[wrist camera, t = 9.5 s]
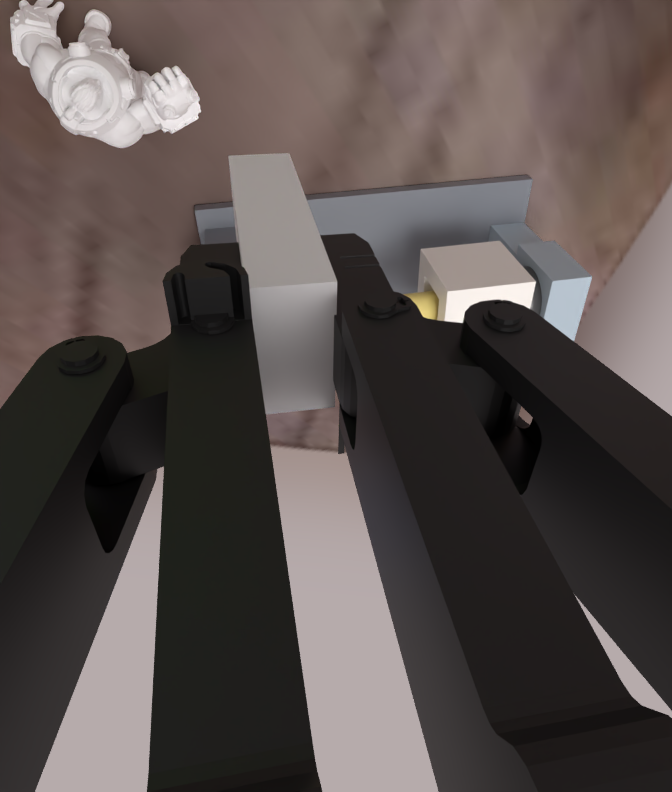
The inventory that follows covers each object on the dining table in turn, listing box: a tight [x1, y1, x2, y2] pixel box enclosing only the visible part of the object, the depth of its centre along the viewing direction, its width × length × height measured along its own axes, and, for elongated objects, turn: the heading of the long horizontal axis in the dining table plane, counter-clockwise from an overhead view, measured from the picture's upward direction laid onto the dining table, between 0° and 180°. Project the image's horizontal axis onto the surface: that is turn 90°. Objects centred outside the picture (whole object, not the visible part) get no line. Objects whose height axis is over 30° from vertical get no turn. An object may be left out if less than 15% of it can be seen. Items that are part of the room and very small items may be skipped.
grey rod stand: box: [195, 175, 592, 341], centre depth 44 cm, size 26×11×12 cm, turn 91°
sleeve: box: [418, 241, 536, 323], centre depth 41 cm, size 6×6×10 cm
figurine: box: [10, 0, 202, 148], centre depth 32 cm, size 10×5×12 cm, turn 74°
